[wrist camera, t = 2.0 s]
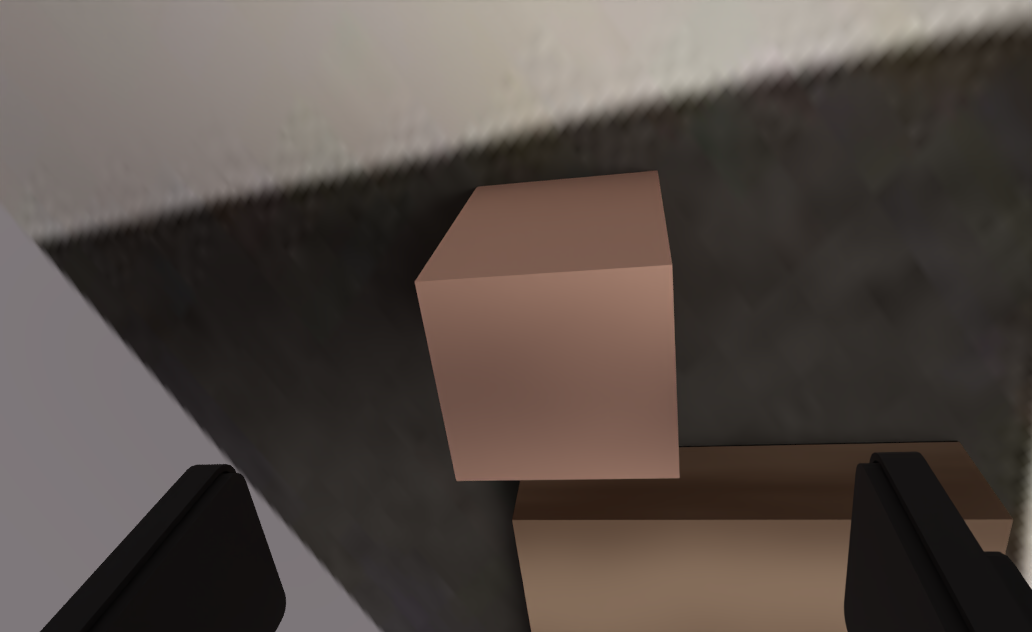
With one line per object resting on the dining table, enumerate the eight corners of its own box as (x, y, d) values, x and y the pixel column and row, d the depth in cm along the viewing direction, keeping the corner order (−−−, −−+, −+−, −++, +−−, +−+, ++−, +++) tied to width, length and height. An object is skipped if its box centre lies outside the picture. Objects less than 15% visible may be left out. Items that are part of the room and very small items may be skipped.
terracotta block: (477, 186, 18) (414, 281, 12) (657, 170, 17) (672, 265, 12) (501, 341, 20) (456, 480, 14) (664, 333, 19) (679, 478, 14)
